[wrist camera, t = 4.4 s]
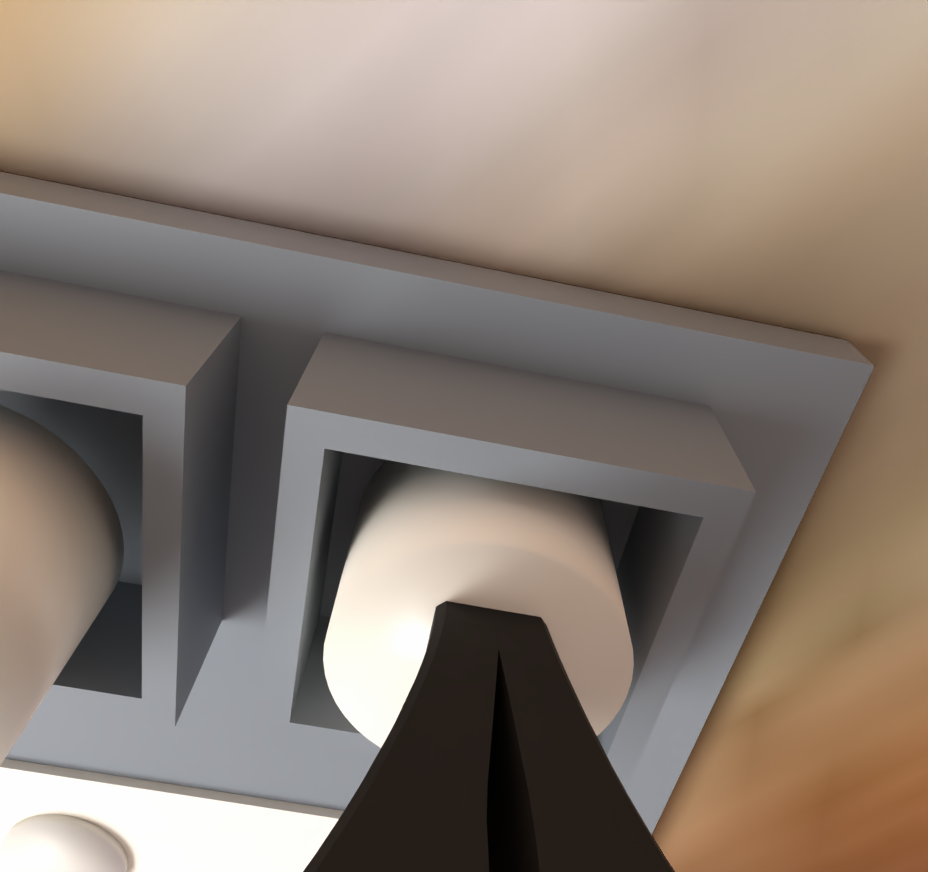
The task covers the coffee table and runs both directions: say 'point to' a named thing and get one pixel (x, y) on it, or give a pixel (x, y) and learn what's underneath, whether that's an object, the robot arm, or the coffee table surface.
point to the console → (357, 500)
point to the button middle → (47, 563)
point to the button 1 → (471, 586)
